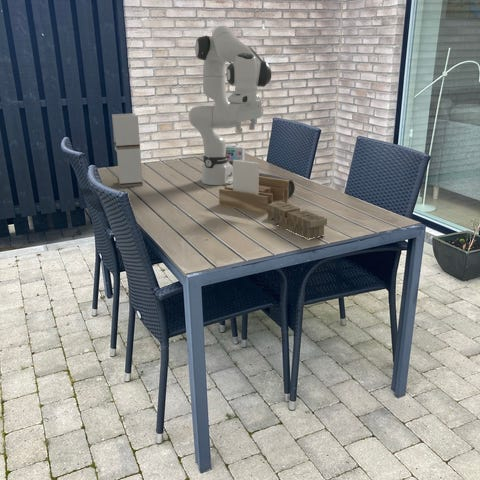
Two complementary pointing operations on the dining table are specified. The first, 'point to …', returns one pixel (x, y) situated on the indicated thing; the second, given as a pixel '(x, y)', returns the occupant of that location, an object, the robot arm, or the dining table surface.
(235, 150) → the light bulb box
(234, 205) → the rack
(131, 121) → the grey stacked pillar
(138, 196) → the dining table surface
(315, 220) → the block tower
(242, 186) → the white rectangular panel
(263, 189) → the offcut top
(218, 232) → the dining table surface
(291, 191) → the bluetooth speaker
